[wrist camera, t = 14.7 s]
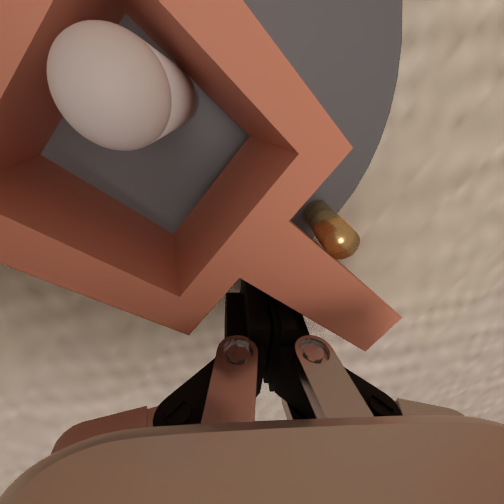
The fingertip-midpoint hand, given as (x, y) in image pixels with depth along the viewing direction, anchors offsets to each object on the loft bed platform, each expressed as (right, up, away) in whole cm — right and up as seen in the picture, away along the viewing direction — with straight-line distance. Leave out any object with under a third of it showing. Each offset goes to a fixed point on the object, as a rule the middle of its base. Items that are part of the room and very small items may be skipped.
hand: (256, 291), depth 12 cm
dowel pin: (+3, +4, 0) cm, 5 cm away
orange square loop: (-1, +4, -2) cm, 4 cm away
